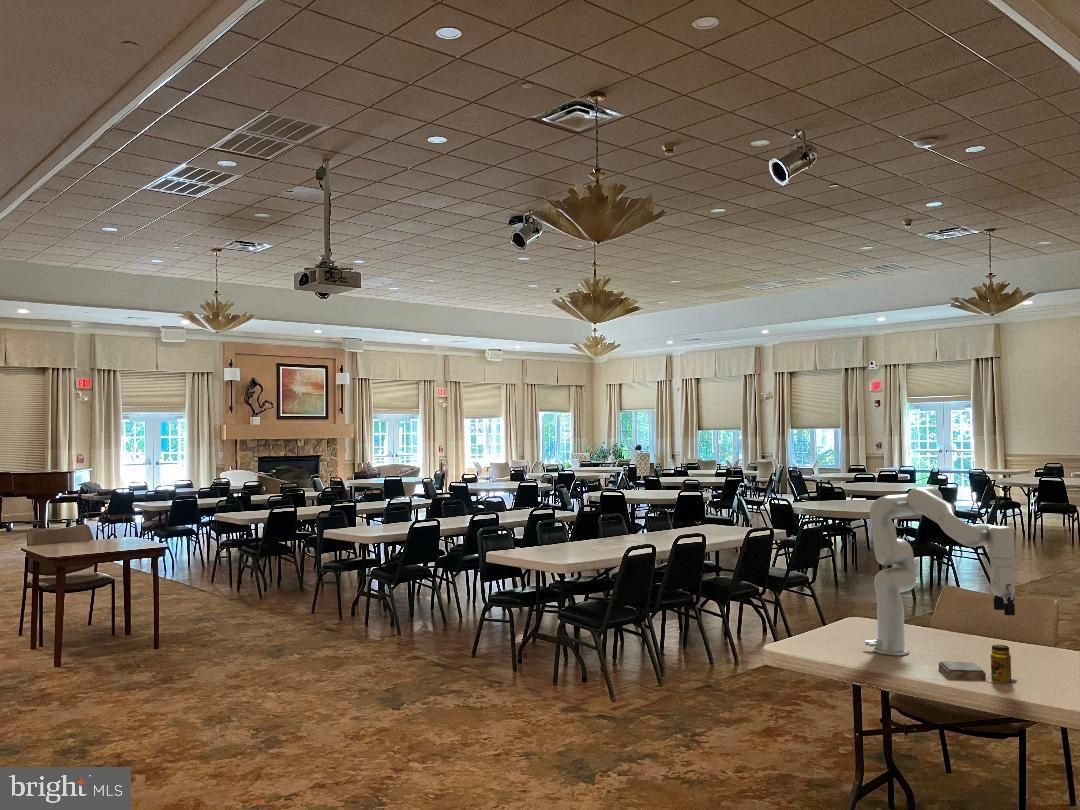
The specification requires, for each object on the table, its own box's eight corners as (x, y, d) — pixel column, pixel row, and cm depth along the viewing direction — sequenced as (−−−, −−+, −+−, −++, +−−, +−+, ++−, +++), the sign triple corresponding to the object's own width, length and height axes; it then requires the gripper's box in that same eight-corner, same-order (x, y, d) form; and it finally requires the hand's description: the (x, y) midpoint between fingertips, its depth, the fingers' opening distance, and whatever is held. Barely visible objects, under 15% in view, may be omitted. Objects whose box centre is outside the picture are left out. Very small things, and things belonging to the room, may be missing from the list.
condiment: (987, 682, 305) (986, 646, 305) (994, 676, 311) (993, 641, 311) (1011, 686, 300) (1010, 649, 300) (1017, 680, 306) (1016, 644, 307)
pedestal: (948, 678, 309) (948, 669, 309) (938, 669, 321) (938, 660, 321) (985, 679, 307) (985, 670, 307) (974, 670, 319) (974, 661, 319)
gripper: (982, 559, 320) (983, 607, 320) (1000, 565, 303) (1001, 617, 303) (1004, 559, 319) (1006, 607, 319) (1023, 565, 302) (1025, 617, 302)
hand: (1004, 612), depth 311 cm, fingers open, 9 cm apart
